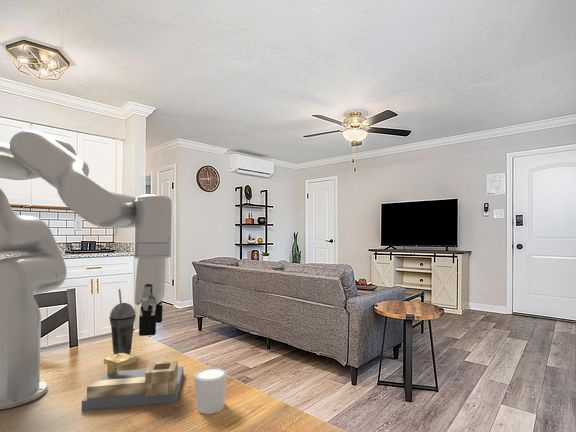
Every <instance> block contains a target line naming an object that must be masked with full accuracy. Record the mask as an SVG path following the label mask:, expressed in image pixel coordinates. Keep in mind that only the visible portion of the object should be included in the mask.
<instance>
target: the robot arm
mask: <svg viewBox="0 0 576 432" xmlns="http://www.w3.org/2000/svg"><path fill="white" fill-rule="evenodd" d="M89 174H90V169H89V165H88V163H86V162H85V161H84V159H82V158H80V157H79V156H77V153H76V150H75V147H73V146H72V145H71V144H70V143H69V142H67V141H66V140H64V139H61V138H59V137H56V136H53V135H49V134H47V133H44V132H41V131H38V130H33V129H28V130H22V131H19V132H17V133H15V134H14V135H13V136H12V137H11V138H10V141H9V143H4V142H2V141H0V179H5V180H12V181H27V180H34V179H39V178H41V179H42V180H44V181H45V182H47V183H48V184H49V185H51V186H52V187H53V188H55V189H56V191H57V194H58V197H59V198H60V199H61V202H62V203H63V204H64V205H65V206H66V207H67V208H68V209H70V210H71V211H72V212H73V213H75V214H76V215H77V216H79V217H80V218H82V219H84V220H85V221H87V222H88V223H90V224H92V225H94V226H97V227H99V228H118V229H121V228H122V229H127V228H134V256H133V257H134V258H135V259H138V261H137V267H136V275H135V276H136V277H135V292H134V304H135V305H136V306H139V305H140V304H141V305H140V310H139V317H138V319H139V320H138V335H139V337H145V336H146V337H149V336H155V335H156V333H157V324H161V323H162V322H163V298H164V296H165V287H166V286H165V285H166V259H167V258H171V257H172V253H171V252H172V218H173V217H172V216H173V215H172V213H173V212H172V208H173V206H172V205H173V203H172V202H173V201H172V200H171V198H170V197H169V196H167V195H160V194H143V195H139V196H136V195H135V196H134V195H127V194H124V193H123V194H122V193H117V192H111V191H109V190H106V189H105V188H103V187H102V186H100V185H99V184H98V183H96V182H95V181H93V180H92V179H91V178H90V177H89ZM10 255H20V256H10ZM0 256H10V257H4V258H2V259H0V410H7V409H11V408H15V407H19V406H22V405H25V404H27V403H30V402H34V401H35V400H36V399H38V398H40V397H43V395H45V393H46V392H47V391H48V383H47V382H46V381H44V380H40V374H41V373H40V372H41V340H42V339H41V337H42V336H41V335H42V334H41V333H42V330H41V329H42V321H41V320H42V317H41V314H42V313H41V311H40V310H41V309H40V307H39V305H38V303H37V301H36V299H35V297H34V296H35V295H40V294H43V293H48V292H52V291H54V290H56V289H58V288H59V287H61V286H63V284H64V282H65V280H66V278H67V267H66V262H65V260H64V258H63V255H62V253H61V250H60V247H59V246H58V244H57V242H56V238H55V237H54V234H53V233H52V230H51V229H50V227H49V226H48V224H47V223H46V222H44V221H43V220H42V219H40V218H38V217H35V216H31V215H19V214H17V213H15V212H14V210H13V208H12V207H11V205H10V202H9V199H8V197H7V195H6V194H5V192H4V191H3V190H2V189H1V188H0Z"/></svg>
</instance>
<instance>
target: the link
mask: <svg viewBox="0 0 576 432" xmlns="http://www.w3.org/2000/svg"><path fill="white" fill-rule="evenodd" d="M178 362H179V361H178V360H167V361H166V360H165V361H151V362H149V363H150V364H149V365H148V367H147V368H146V369H147V371H146V372H145V377H136V378H123V379H110V380H99V379H98V380H91V382H90V383H89V384H88V385H87V386H86V395H87V398H97V397H109V396H121V395H132V394H144V393H145V396H157V395H168V394H174V393H175V389H176V386H177V382H178V367H179V366H178Z"/></svg>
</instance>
